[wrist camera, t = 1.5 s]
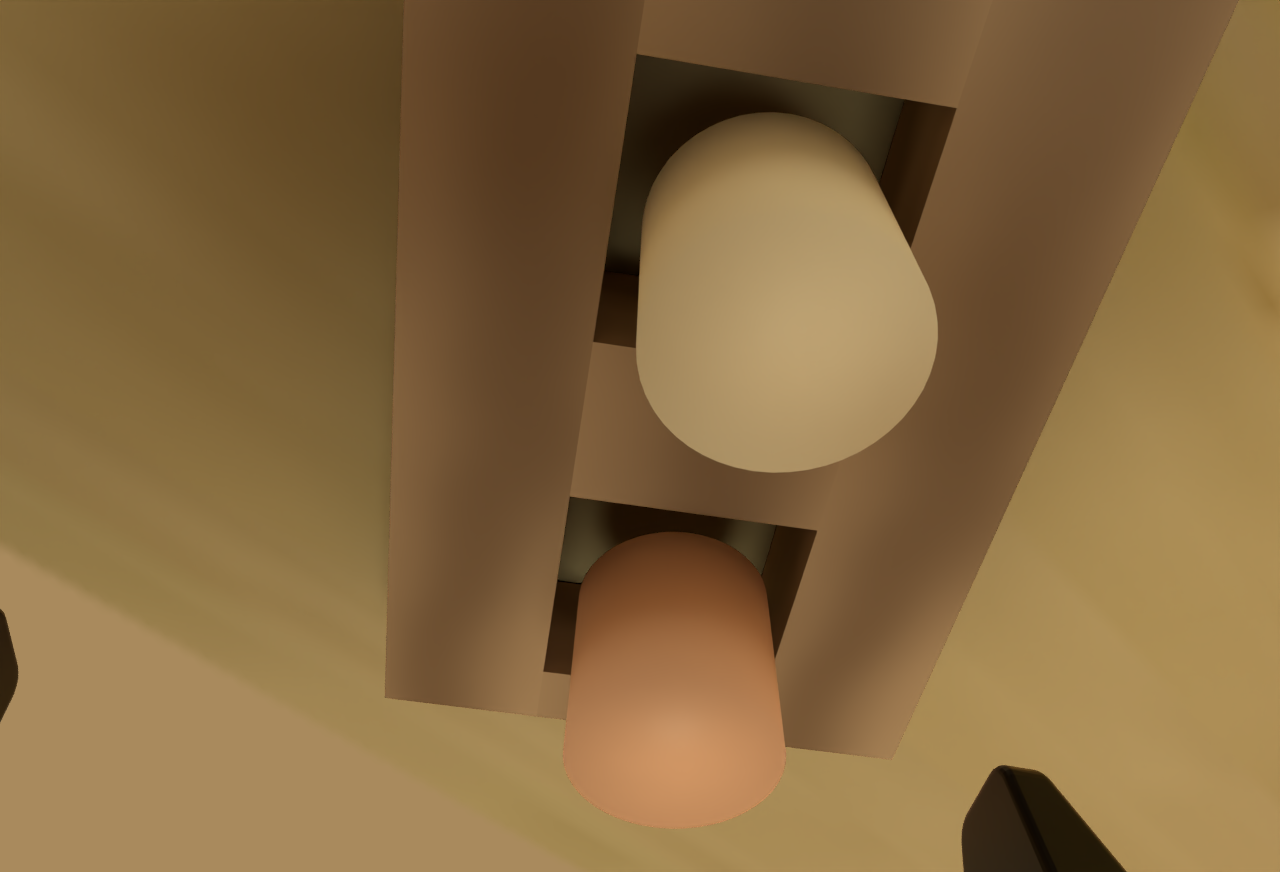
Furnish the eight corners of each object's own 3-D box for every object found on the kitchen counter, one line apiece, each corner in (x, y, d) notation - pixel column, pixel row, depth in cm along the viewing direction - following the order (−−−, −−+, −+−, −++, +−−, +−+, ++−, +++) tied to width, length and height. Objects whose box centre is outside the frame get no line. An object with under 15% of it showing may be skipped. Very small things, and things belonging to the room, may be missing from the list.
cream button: (624, 321, 18) (615, 451, 15) (663, 92, 16) (663, 185, 12) (847, 355, 18) (886, 490, 15) (915, 135, 16) (980, 236, 13)
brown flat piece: (411, 607, 26) (384, 697, 23) (481, -925, 12) (433, -1097, 10) (870, 665, 27) (892, 759, 24) (1427, -702, 13) (1607, -809, 10)
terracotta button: (567, 659, 23) (551, 815, 19) (591, 519, 20) (577, 669, 17) (744, 681, 23) (758, 839, 20) (787, 546, 21) (810, 698, 17)
